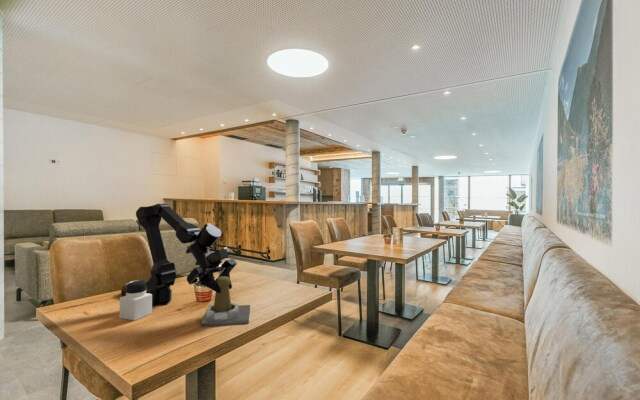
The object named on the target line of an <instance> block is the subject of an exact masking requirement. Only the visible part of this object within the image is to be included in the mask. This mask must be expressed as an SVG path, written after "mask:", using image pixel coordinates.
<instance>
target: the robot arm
mask: <svg viewBox="0 0 640 400" xmlns="http://www.w3.org/2000/svg"><path fill="white" fill-rule="evenodd" d="M135 217H136V219H137V222H138V224H139V225H140V226H141V227H142V228H143V229H144V230H145V234H146V240H147V243H148V247H149V250H150V255H151V258H152V259H151V260H152V264H153V265H152V266H151V270H150V278H149V279H148V280H146V281H147V283H146V287H147V289H150V290H151V294H152V306H161V305H162V306H163V305H168V304H169V303H170V302H171V301H172V293H173V292H172V290H173V289H171V286H174V285H175V281H176V279H177V272H178V271H177V270H176V265H175V262H170V261H169V260H168V258H167V254H166V249H165V246H164V242H163V238H162V233H161V230H160V224H161V222H162V220H163V221H165V223H167V224H168V226H170V227H171V228H172V229H173V230H174V231H175V237H176V238H177V239H178V240H179V242H180V243H182V244H189V245H188V246H187V247H186V250H185V253H186V254H191V255H192V256H193V258H194V259H195V261H196V262H195V266H196V267H194V268H193V269H192V270H191V271H190V272H189V273H188V274H187V276H186V281H187V283H188V285H194V284H196V283H197V284H198V285H202V286H204V287H206V288H208V289H210V290H213V291H214V292H215V293H216V292H217V293H220V292H221V290H220V288H219V286H218V284H217V282H216V281H215V280H216V278H215V277H214V274H216V273H217V274H218V277H222V276H226V277H229V278H230V279H231V276H230V275H231V272H232V270H233V269H234V268H235V267H236V266H237V264H238V263H237V261H236V260H235V258H234V259H228V258H229V257H230V256H231V250H230V249H229V248H228V246H226V247H222V248H220V249H219V250H216V251H213V250H212V251H211V249H210V248H211V247H212V246H213V245H214V244H215V243H216V242H217V241H218V239H219V238H220V237H221V235H222V231H221V229H220V228H218V226H215V225H212V223H211V222H206V223H205V224H204V225H203V227H202V228H200V227H198V226H197V225H195V224H193V223H190V222H188V221H186V220H184V218H183V217H181V216H180V215H179V214H178V213H177V212H176V211H175V210H173V208H172V207H171V205H169V204H168V203H156V204H153V205H150V206H149V205H148V206H139V208H138V209H137V210H136V212H135ZM190 243H191V244H190ZM225 259H227V260H225ZM223 260H225V261H223ZM221 263H222V264H221ZM220 264H221V265H220ZM197 266H198V267H197ZM218 277H217V278H218ZM198 280H199V281H198ZM232 288H233V283H232V282H231V283H230V285H229V290H231V289H232Z"/></svg>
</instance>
